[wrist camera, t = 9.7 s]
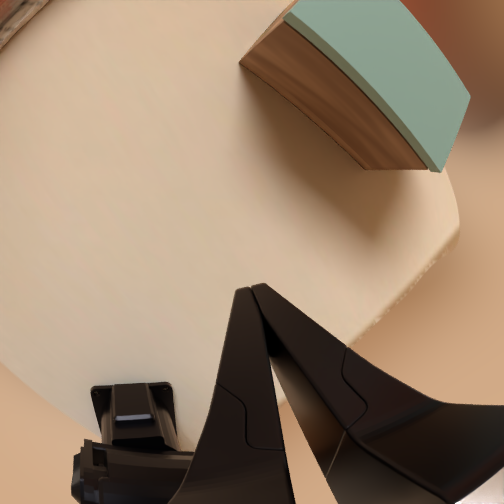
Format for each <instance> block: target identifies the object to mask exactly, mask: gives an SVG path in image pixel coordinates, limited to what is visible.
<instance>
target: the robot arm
mask: <svg viewBox="0 0 504 504" xmlns="http://www.w3.org/2000/svg"><path fill="white" fill-rule="evenodd" d="M270 363H271V364H270ZM271 365H272V367H273V369H274V372H275V374H276V376H277V378H278V380H279V382H280V385H281V387H282V389H283V391H284V393H285V395H286V398H287V400H288V402H289V404H290V406H291V408H292V410H293V412H294V415H295V417H296V419H297V421H298V423H299V425H300V427H301V429H302V431H303V433H304V436H305V438H306V440H307V442H308V444H309V446H310V448H311V450H312V452H313V454H314V456H315V458H316V460H317V462H318V464H319V466H320V468H321V471H322V472H323V475H324V477H325V478H326V481H327V483H328V485H329V487H330V489H331V491H332V493H333V495H334V496H335V499H336V501H337V502H338V504H504V405H473V404H454V403H446V402H442V401H438V400H435V399H433V398H430V397H428V396H426V395H424V394H422V393H421V392H419V391H417V390H415V389H414V388H412V387H410V386H408V385H406V384H405V383H403V382H401V381H399V380H398V379H396V378H394V377H392V376H390V375H389V374H387V373H385V372H384V371H382V370H381V369H379V368H377V367H375V366H374V365H372V364H371V363H370V362H368V361H367V360H365V359H364V358H363V357H361V356H360V355H358V354H357V353H355V352H354V351H353V350H351V349H350V348H349V347H347V346H346V345H345V344H344V343H342V342H341V341H340V340H338V339H337V338H336V337H334V336H333V335H332V334H331V333H329V332H328V331H327V330H325V329H324V328H323V327H321V326H320V325H319V324H317V323H316V322H315V321H314V320H312V319H311V318H310V317H308V316H307V315H306V314H304V313H303V312H302V311H301V310H299V309H298V308H297V307H295V306H294V305H293V304H291V303H290V302H289V301H288V300H286V299H285V298H284V297H282V296H281V295H280V294H279V293H277V292H276V291H275V290H273V289H272V288H271V287H270V286H268V285H267V284H266V283H260V284H256V285H252V286H251V288H250V287H244V288H239V289H237V290H236V291H235V294H234V299H233V304H232V308H231V313H230V318H229V322H228V327H227V332H226V336H225V341H224V346H223V350H222V355H221V360H220V364H219V369H218V374H217V379H216V385H215V387H214V392H213V397H212V401H211V405H210V409H209V413H208V416H207V419H206V422H205V425H204V428H203V431H202V434H201V436H200V439H199V442H198V444H197V447H196V450H195V452H183V451H181V449H180V446H179V443H178V440H177V431H176V422H175V413H174V403H173V391H172V387H171V384H170V383H168V382H158V383H134V384H115V385H108V386H93V387H92V388H91V398H92V402H93V406H94V410H95V413H96V417H97V421H98V424H99V428H100V431H101V435H102V443H96V442H92V440H88V439H84V447H81V453H79V454H77V455H74V463H73V464H74V465H73V477H72V484H71V494H72V496H73V497H74V498H75V500H77V502H78V503H79V504H296V503H295V498H294V493H293V488H292V483H291V479H290V473H289V468H288V463H287V457H286V452H285V446H284V440H283V434H282V429H281V422H280V417H279V411H278V405H277V399H276V393H275V388H274V382H273V376H272V370H271ZM165 387H168V389H166V390H164V389H163V388H165ZM95 391H97V392H99V393H98V394H96V393H95Z"/></svg>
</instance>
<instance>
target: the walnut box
mask: <svg viewBox="0 0 504 504" xmlns="http://www.w3.org/2000/svg"><path fill="white" fill-rule="evenodd" d="M297 2H298V0H294V1H293V2H292V3H291V4H290V5H289V6H288V7H287V8H286V9H285V10H284V11H283V12H282V13H281V14H280V15H279V16H278V17H277V18H276V20H275V21H274V22H273V23H272V24H271V25H270V26H269V27H268V28H267V29H266V31H265V32H264V33H263V34H262V35H261V36H260V37H259V39H258V40H257V41H256V42H255V43H254V44H253V46H252V47H251V48H250V49H249V50H248V51H247V53H246V54H245V55H244V56H243V58H242V59H241V60H240V61H239V63H240V64H242V65H243V66H245V67H246V68H247V69H249V70H250V71H251V72H253V73H254V74H255V75H257V76H258V77H259V78H261V79H262V80H263V81H265V82H266V83H267V84H269V85H270V86H271V87H272V88H274V89H275V90H276V91H277V92H279V93H280V94H281V95H282V96H284V97H285V98H286V99H287V100H289V101H290V102H291V103H292V104H293V105H295V106H296V107H297V108H298V109H299V110H301V111H302V112H303V113H304V114H305V115H307V116H308V117H309V118H310V119H311V120H312V121H313V122H315V123H316V124H317V125H318V126H319V127H320V128H321V129H323V130H324V131H325V132H326V133H327V134H328V135H329V136H330V137H331V138H332V139H334V140H335V141H336V142H337V143H338V144H339V145H340V146H341V147H342V148H343V149H344V150H345V151H346V152H347V153H348V154H349V155H351V156H352V157H353V158H354V159H355V160H356V161H357V162H358V163H359V164H360V165H361V166H362V167H363V168H364V169H365V170H428V167H427V166H426V164H425V163H424V162H423V160H422V159H421V158H420V157H419V155H418V154H417V153H416V151H415V150H414V149H413V148H412V146H411V145H410V144H409V143H408V141H407V140H406V139H405V138H404V136H403V135H402V134H401V133H400V132H399V130H398V129H397V128H396V127H395V126H394V124H393V123H392V122H391V121H390V120H389V119H388V118H387V116H386V115H385V114H384V113H383V112H382V111H381V110H380V109H379V107H378V106H377V105H376V104H375V103H374V102H373V101H372V100H371V99H370V98H369V97H368V96H367V95H366V94H365V92H364V91H363V90H362V89H361V88H360V87H359V86H358V85H357V84H356V83H355V82H354V81H353V80H352V79H351V78H350V77H349V76H348V75H347V74H346V73H345V72H344V71H343V70H341V69H340V68H339V67H338V66H337V65H336V64H335V63H334V62H333V61H332V60H331V59H330V58H329V57H328V56H326V55H325V54H324V53H323V52H322V51H321V50H320V49H319V48H317V47H316V46H315V45H314V44H313V43H312V42H310V41H309V40H308V39H307V38H306V37H305V36H303V35H302V34H301V33H300V32H298V31H297V30H296V29H295V28H294V27H292V26H291V25H290V24H289V23H287V22H286V21H285V20H283V19H282V17H283V16H284V15H285V14H286V13H287V12H288V11H289V10H290V9H291V8H292V7H293V6H294V5H295V4H296V3H297Z"/></svg>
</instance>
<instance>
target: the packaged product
mask: <svg viewBox="0 0 504 504" xmlns="http://www.w3.org/2000/svg"><path fill="white" fill-rule="evenodd" d="M48 1H49V0H0V49H1V48H2V47H3V46H4V45H5V44H6V43H7V42H8V41H9V39H10V38H11V37H12V36H13V35H14V34H15V33H16V32H17V31H18V30H19V29H20V28H21V27H22V26H23V25H24V24H25V23H27V22H28V21H29V20H30V19H31V18H32V17H33V16H34V15H35V14H36V13H37V12H38V11H39V10H40V9H41V8H42V7H43V6H44V5H45V4H46V3H47V2H48Z"/></svg>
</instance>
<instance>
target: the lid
mask: <svg viewBox="0 0 504 504" xmlns="http://www.w3.org/2000/svg"><path fill="white" fill-rule="evenodd" d="M282 19H283V20H285V21H286V22H287V23H289V24H290V25H291V26H292V27H294V28H295V29H296V30H297V31H298V32H300V33H301V34H302V35H303V36H305V37H306V38H307V39H308V40H309V41H310V42H312V43H313V44H314V45H315V46H316V47H317V48H319V49H320V50H321V51H322V52H323V53H324V54H325V55H326V56H328V57H329V58H330V59H331V60H332V61H333V62H334V63H335V64H336V65H337V66H338V67H339V68H340V69H341V70H343V71H344V72H345V73H346V74H347V75H348V76H349V77H350V78H351V79H352V80H353V81H354V82H355V83H356V84H357V85H358V86H359V87H360V88H361V89H362V90H363V91H364V92H365V94H366V95H367V96H368V97H369V98H370V99H371V100H372V101H373V102H374V103H375V104H376V105H377V106H378V107H379V109H380V110H381V111H382V112H383V113H384V114H385V115H386V116H387V118H388V119H389V120H390V121H391V122H392V123H393V124H394V126H395V127H396V128H397V129H398V130H399V132H400V133H401V134H402V135H403V136H404V138H405V139H406V140H407V141H408V143H409V144H410V145H411V146H412V148H413V149H414V150H415V151H416V153H417V154H418V155H419V157H420V158H421V159H422V160H423V162H424V163H425V164H426V166H427V167H428V168H429V170H430V171H431V172H439V173H441V172H442V170H443V167H444V165H445V163H446V160H447V158H448V156H449V153H450V151H451V148H452V146H453V143H454V141H455V138H456V136H457V133H458V130H459V128H460V125H461V123H462V120H463V117H464V114H465V111H466V109H467V106H468V103H469V100H470V97H471V96H470V94H469V93H468V91H467V90H466V88H465V87H464V85H463V83H462V82H461V80H460V78H459V77H458V75H457V74H456V72H455V71H454V69H453V68H452V66H451V65H450V63H449V62H448V60H447V59H446V58H445V56H444V55H443V53H442V52H441V51H440V49H439V48H438V47H437V45H436V44H435V42H434V41H433V40H432V39H431V37H430V36H429V35H428V33H427V32H426V31H425V30H424V28H423V27H422V26H421V25H420V23H419V22H418V21H417V20H416V19H415V17H414V16H413V15H412V14H411V13H410V12H409V11H408V9H407V8H406V7H405V6H404V5H403V4H402V3H401V2H400V0H298V2H297V3H296V4H295V5H294V6H293V7H292V8H291V9H290V10H289V11H288V12H287V13H286V14H285V15H284V16H283V17H282Z"/></svg>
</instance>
